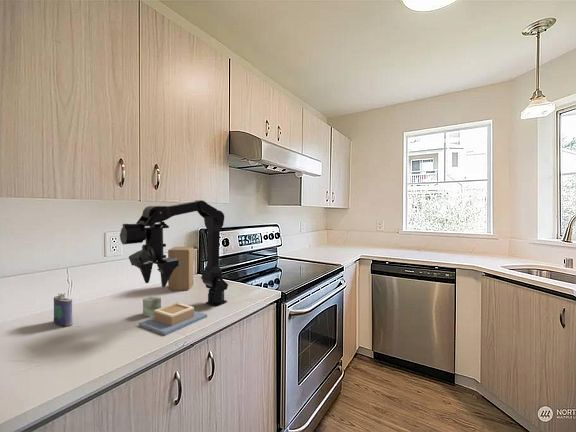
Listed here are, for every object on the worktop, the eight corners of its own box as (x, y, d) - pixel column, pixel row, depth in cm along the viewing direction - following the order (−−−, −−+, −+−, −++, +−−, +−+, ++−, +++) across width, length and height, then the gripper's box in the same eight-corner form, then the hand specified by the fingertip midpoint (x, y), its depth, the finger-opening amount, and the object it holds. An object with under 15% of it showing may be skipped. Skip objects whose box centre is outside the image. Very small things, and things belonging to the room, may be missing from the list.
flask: (74, 324, 99) (73, 294, 99) (64, 328, 97) (63, 296, 96) (60, 319, 104) (59, 290, 103) (50, 322, 101) (49, 292, 101)
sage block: (153, 310, 113) (153, 295, 113) (161, 313, 111) (160, 297, 111) (143, 314, 109) (142, 299, 109) (150, 317, 107) (150, 301, 107)
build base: (182, 309, 115) (181, 298, 115) (207, 316, 108) (207, 304, 107) (139, 325, 99) (138, 312, 99) (165, 335, 92) (165, 321, 92)
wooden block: (174, 285, 149) (173, 246, 148) (193, 284, 150) (193, 246, 149) (167, 290, 139) (167, 249, 138) (189, 290, 140) (189, 249, 139)
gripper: (116, 242, 99) (117, 286, 100) (150, 246, 90) (151, 295, 91) (145, 238, 109) (146, 279, 110) (179, 242, 100) (180, 286, 101)
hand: (155, 284), depth 103 cm, fingers open, 9 cm apart
